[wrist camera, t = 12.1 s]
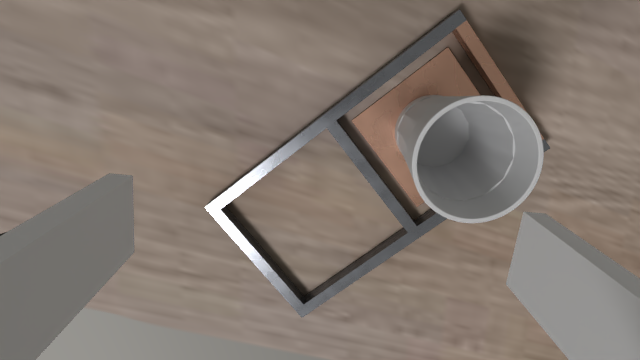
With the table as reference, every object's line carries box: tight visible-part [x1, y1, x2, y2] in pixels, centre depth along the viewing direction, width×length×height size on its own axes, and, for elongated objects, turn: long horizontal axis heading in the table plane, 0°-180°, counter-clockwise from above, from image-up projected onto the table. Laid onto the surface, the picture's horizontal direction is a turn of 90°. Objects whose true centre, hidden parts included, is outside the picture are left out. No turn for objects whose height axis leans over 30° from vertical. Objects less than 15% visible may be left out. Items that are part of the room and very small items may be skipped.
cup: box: [395, 95, 544, 223], centre depth 32 cm, size 8×8×12 cm
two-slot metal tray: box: [205, 10, 550, 317], centre depth 39 cm, size 27×14×2 cm, turn 128°
